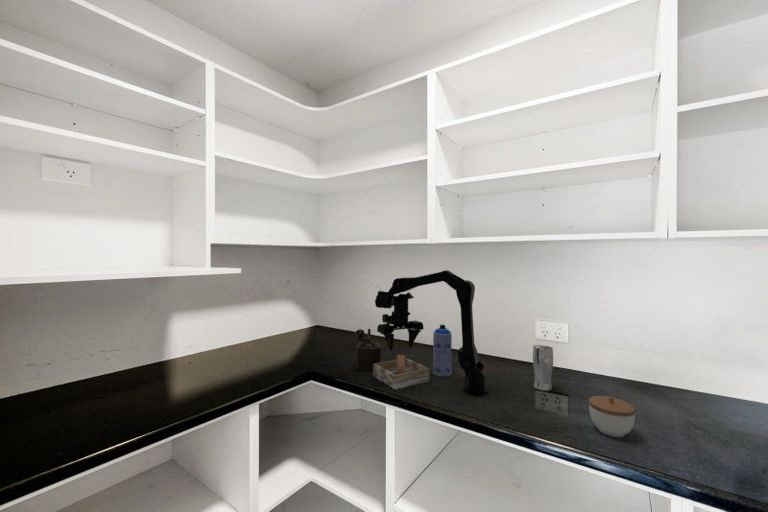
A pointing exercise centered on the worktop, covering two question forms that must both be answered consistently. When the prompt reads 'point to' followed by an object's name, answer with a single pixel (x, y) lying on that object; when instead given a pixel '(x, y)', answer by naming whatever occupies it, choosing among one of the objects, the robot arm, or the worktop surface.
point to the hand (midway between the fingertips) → (400, 348)
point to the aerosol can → (442, 351)
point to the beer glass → (543, 366)
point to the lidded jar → (612, 415)
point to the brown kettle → (366, 351)
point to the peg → (400, 364)
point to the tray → (410, 377)
